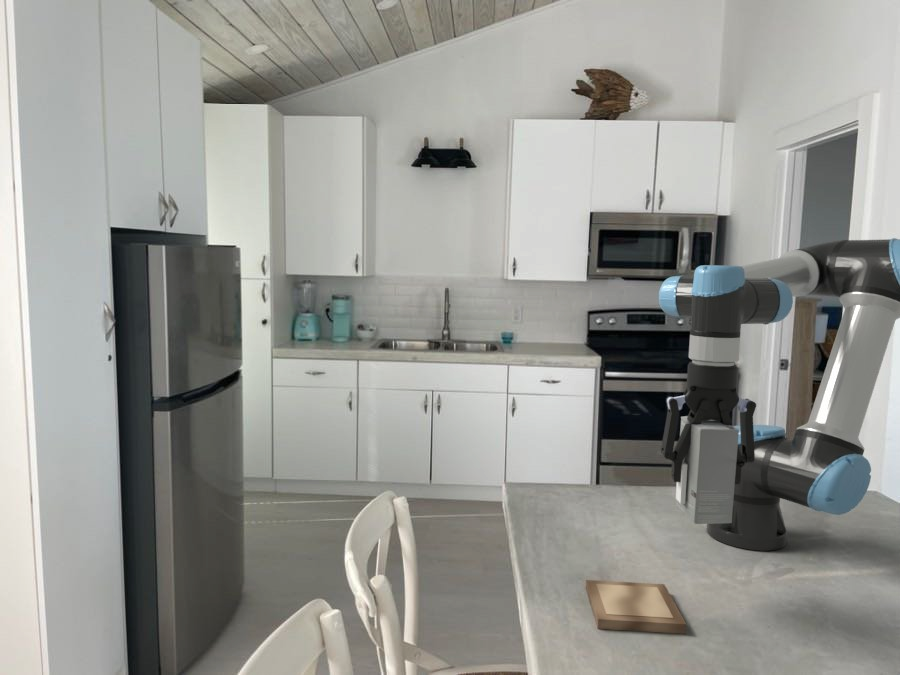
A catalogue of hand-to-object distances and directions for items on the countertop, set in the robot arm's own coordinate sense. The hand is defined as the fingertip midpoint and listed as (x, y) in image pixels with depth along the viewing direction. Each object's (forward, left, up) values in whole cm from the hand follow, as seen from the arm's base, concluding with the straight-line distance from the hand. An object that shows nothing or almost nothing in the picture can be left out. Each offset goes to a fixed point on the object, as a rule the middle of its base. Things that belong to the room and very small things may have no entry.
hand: (704, 501), depth 111 cm
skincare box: (0, 0, -3) cm, 3 cm away
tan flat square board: (+12, +5, -17) cm, 21 cm away
